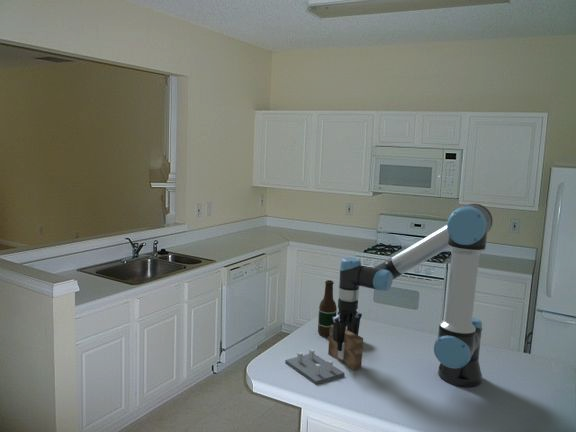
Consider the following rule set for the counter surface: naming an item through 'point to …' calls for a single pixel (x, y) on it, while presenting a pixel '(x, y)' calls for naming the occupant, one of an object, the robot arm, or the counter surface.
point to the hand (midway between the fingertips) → (344, 357)
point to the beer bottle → (326, 310)
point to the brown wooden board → (348, 349)
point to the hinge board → (314, 367)
